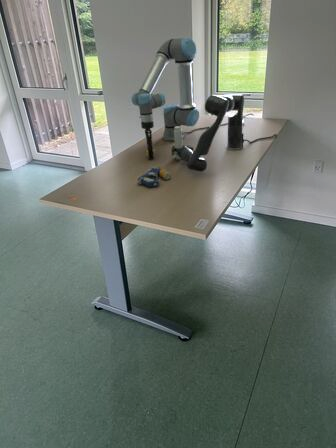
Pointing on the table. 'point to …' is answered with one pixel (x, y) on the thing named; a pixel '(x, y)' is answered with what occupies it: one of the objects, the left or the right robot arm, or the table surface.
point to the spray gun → (153, 174)
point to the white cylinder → (178, 139)
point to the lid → (148, 152)
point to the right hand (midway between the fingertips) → (177, 146)
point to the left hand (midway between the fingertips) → (150, 157)
